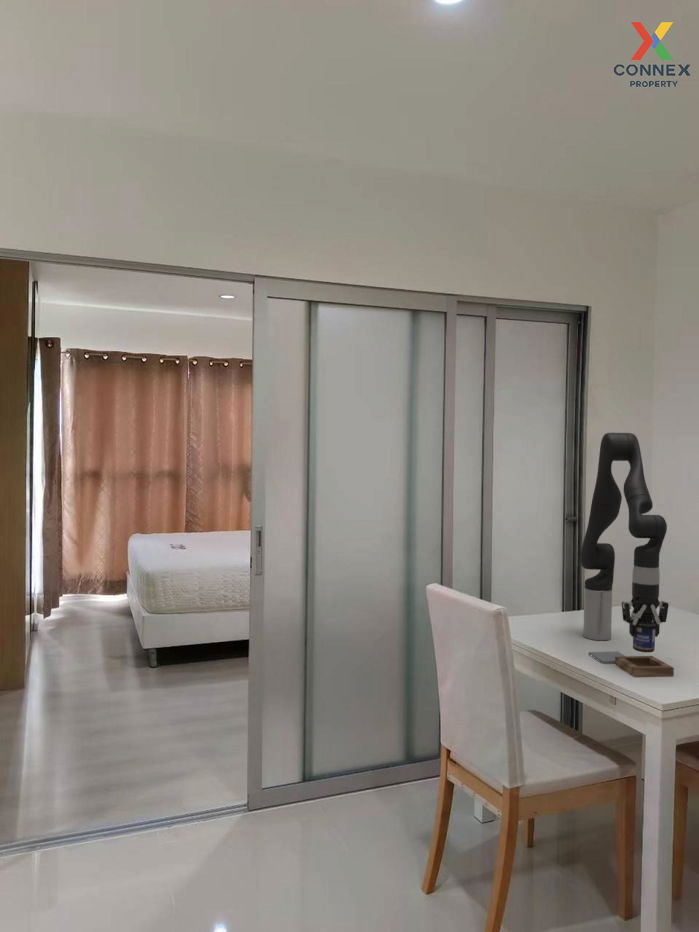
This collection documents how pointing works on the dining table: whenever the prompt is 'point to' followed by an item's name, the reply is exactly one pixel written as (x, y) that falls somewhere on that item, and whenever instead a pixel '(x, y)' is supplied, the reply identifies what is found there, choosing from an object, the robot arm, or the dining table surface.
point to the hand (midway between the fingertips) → (644, 636)
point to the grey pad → (606, 656)
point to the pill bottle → (645, 634)
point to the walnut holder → (644, 666)
